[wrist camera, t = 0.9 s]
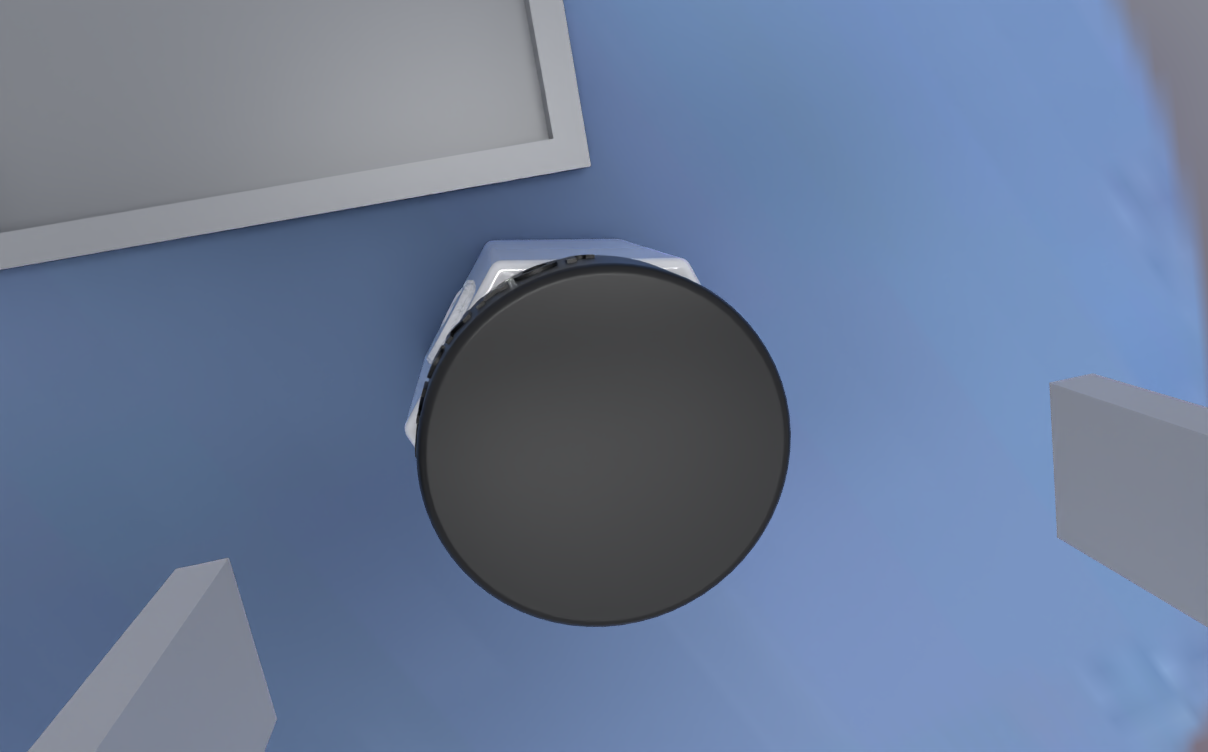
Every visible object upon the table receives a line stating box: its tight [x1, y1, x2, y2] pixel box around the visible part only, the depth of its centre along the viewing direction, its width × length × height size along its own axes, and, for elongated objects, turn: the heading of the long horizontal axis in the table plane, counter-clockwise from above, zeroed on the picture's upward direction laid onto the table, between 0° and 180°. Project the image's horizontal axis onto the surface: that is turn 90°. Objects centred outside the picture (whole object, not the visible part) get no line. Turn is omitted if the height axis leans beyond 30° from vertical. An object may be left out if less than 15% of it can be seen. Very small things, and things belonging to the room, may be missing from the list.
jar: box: [405, 239, 791, 627], centre depth 24 cm, size 9×8×12 cm
